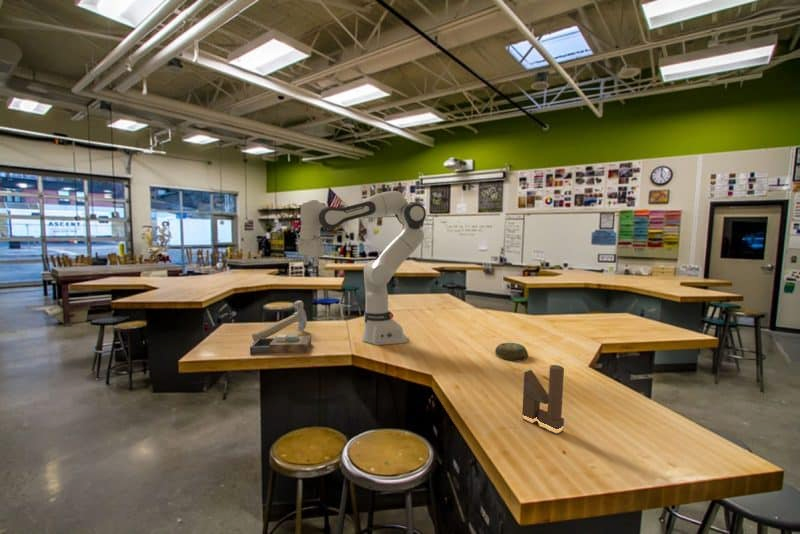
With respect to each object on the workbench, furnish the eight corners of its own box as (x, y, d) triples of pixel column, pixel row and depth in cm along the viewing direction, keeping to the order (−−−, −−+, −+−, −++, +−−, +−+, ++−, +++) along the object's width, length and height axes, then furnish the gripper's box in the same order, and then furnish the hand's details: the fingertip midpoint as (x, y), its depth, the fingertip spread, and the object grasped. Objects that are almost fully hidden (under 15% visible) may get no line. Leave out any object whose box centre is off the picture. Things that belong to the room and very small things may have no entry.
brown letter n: (528, 415, 111) (531, 356, 109) (563, 431, 102) (567, 367, 100) (521, 419, 108) (524, 359, 106) (556, 435, 100) (560, 370, 98)
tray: (276, 344, 175) (276, 338, 175) (269, 353, 162) (268, 346, 162) (259, 344, 174) (258, 338, 174) (250, 353, 162) (249, 347, 161)
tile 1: (287, 338, 171) (287, 334, 171) (285, 341, 167) (285, 337, 167) (278, 338, 170) (278, 334, 170) (276, 341, 166) (276, 337, 166)
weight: (489, 353, 167) (489, 342, 166) (514, 350, 171) (514, 339, 171) (507, 363, 154) (507, 351, 154) (534, 360, 159) (534, 348, 158)
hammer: (253, 324, 173) (304, 301, 196) (248, 323, 176) (298, 299, 199) (261, 354, 178) (309, 328, 200) (255, 352, 181) (304, 326, 203)
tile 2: (298, 338, 171) (298, 334, 171) (296, 341, 167) (296, 336, 167) (289, 338, 171) (289, 334, 171) (287, 341, 167) (287, 337, 167)
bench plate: (311, 344, 176) (311, 335, 176) (306, 353, 164) (306, 344, 163) (276, 344, 175) (276, 336, 175) (269, 353, 162) (268, 344, 162)
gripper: (327, 236, 167) (327, 267, 168) (307, 235, 183) (307, 263, 184) (314, 236, 163) (314, 267, 164) (295, 235, 179) (295, 263, 180)
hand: (310, 265), depth 174 cm, fingers open, 8 cm apart
